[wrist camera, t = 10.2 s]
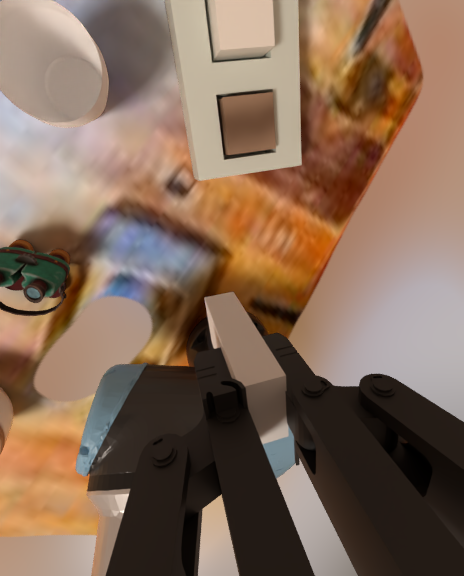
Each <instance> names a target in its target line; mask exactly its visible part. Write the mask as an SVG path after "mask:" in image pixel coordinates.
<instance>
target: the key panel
mask: <svg viewBox="0 0 464 576" xmlns="http://www.w3.org/2000/svg"><path fill="white" fill-rule="evenodd" d="M165 6H166V12H167V18H168V24H169V30H170V36H171V42H172V48H173V54H174V60H175V66H176V72H177V78H178V84H179V90H180V96H181V102H182V108H183V114H184V120H185V126H186V132H187V138H188V144H189V150H190V156H191V162H192V168H193V174H194V178H195V179H197V180H199V181H201V180H208V179H214V178H221V177H227V176H234V175H240V174H247V173H253V172H260V171H266V170H273V169H279V168H286V167H292V166H299V165H301V117H300V65H299V14H298V0H273V16H274V37H275V46H274V47H273V48H272V49H271V50H270V51H268V52H267V53H266V54H265V55H264V56H263V57H253V58H241V59H229V60H218V61H213V55H212V46H211V38H210V30H209V22H208V13H207V5H206V0H165ZM269 92H273V105H274V124H275V143H276V149H269V150H262V151H255V152H248V153H241V154H233V155H223V148H222V140H221V132H220V124H219V116H218V107H217V102H218V101H219V100H220V99H222V98H223V97H231V96H241V95H250V94H259V93H269Z"/></svg>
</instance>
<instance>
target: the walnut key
mask: <svg viewBox="0 0 464 576" xmlns="http://www.w3.org/2000/svg"><path fill="white" fill-rule="evenodd" d="M217 107H218V116H219V124H220V132H221V140H222V148H223V155H233V154H241V153H248V152H255V151H262V150H269V149H276V143H275V124H274V105H273V92H269V93H259V94H250V95H241V96H231V97H223V98H222V99H220V100H219V101H218V102H217Z"/></svg>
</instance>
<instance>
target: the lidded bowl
mask: <svg viewBox="0 0 464 576" xmlns="http://www.w3.org/2000/svg"><path fill="white" fill-rule="evenodd" d="M12 422H13V406H12V403H11V401H10V399H9V397H8V395H7V394H6V393H5V392H4V390H3V389H2V388H1V387H0V454H1V452H2V450H3V447H4V444H5V442H6V440H7V437H8V435H9V432H10V429H11V426H12Z"/></svg>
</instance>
